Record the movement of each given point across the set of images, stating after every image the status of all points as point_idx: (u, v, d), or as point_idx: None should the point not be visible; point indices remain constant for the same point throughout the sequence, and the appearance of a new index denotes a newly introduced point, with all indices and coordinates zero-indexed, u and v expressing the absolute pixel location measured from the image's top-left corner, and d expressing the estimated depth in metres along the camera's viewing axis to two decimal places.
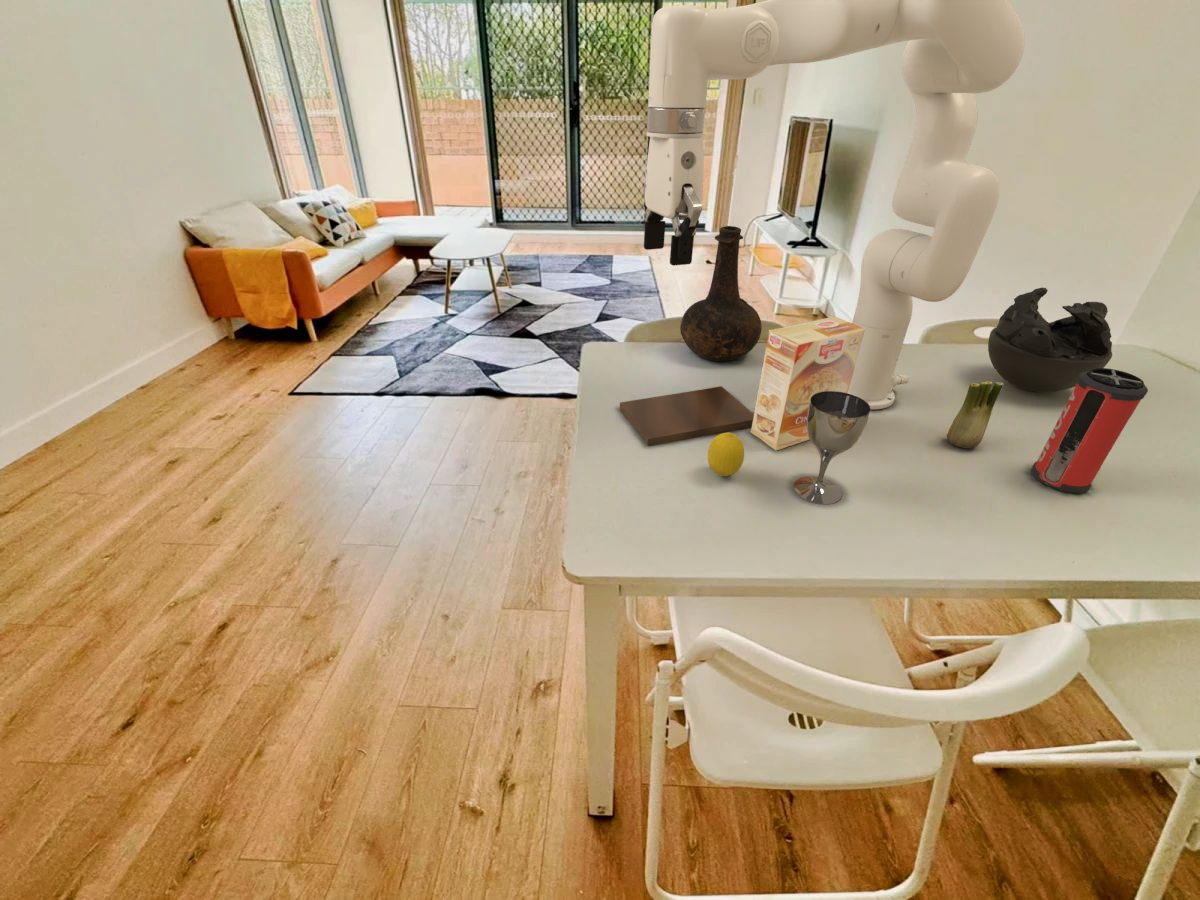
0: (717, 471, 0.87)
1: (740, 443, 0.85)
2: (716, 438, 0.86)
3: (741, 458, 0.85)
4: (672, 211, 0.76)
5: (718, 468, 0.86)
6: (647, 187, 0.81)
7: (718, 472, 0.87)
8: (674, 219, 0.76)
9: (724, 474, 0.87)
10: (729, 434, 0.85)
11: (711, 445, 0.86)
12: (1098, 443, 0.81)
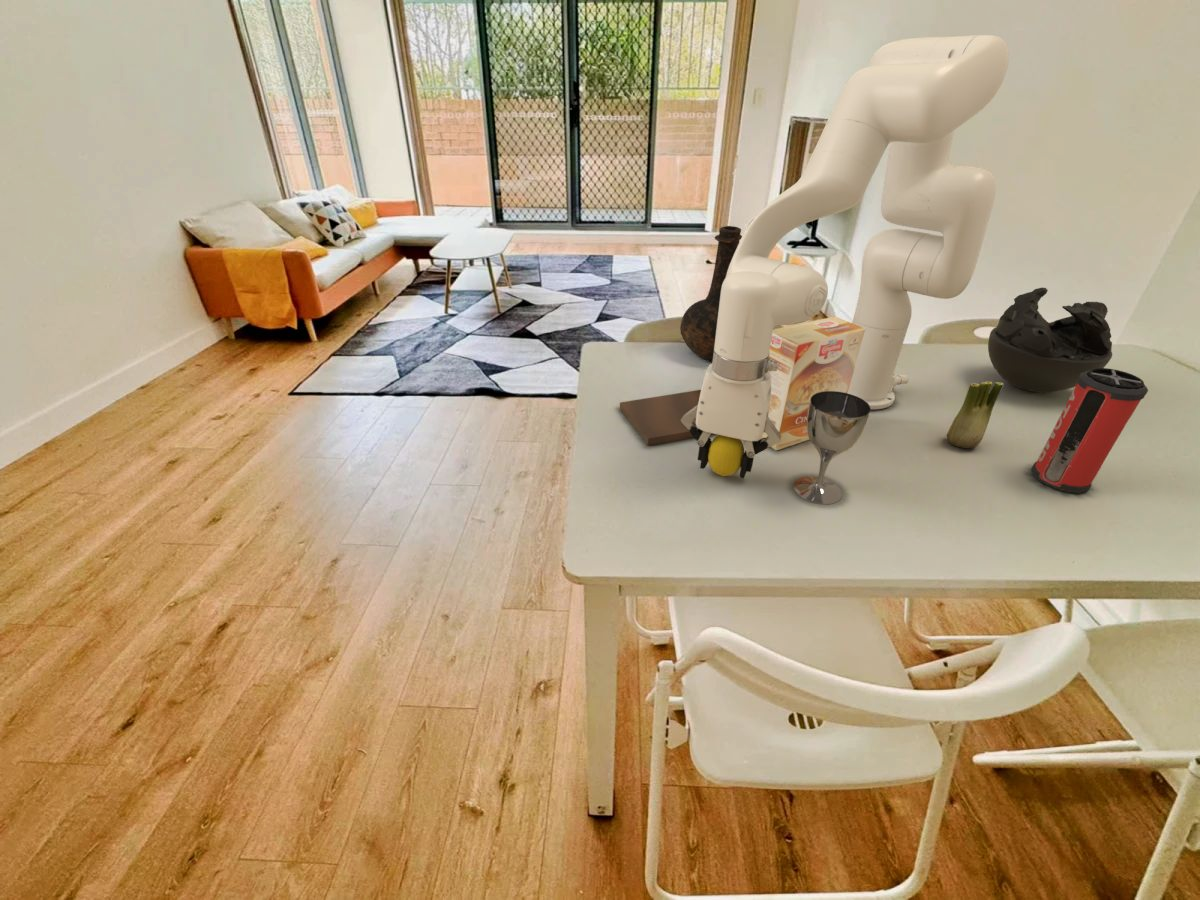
0: (717, 471, 0.87)
1: (740, 443, 0.85)
2: (716, 438, 0.86)
3: (741, 458, 0.85)
4: (759, 437, 0.81)
5: (718, 468, 0.86)
6: (706, 415, 0.83)
7: (718, 472, 0.87)
8: (750, 444, 0.83)
9: (724, 474, 0.87)
10: None
11: (711, 445, 0.86)
12: (1098, 443, 0.81)
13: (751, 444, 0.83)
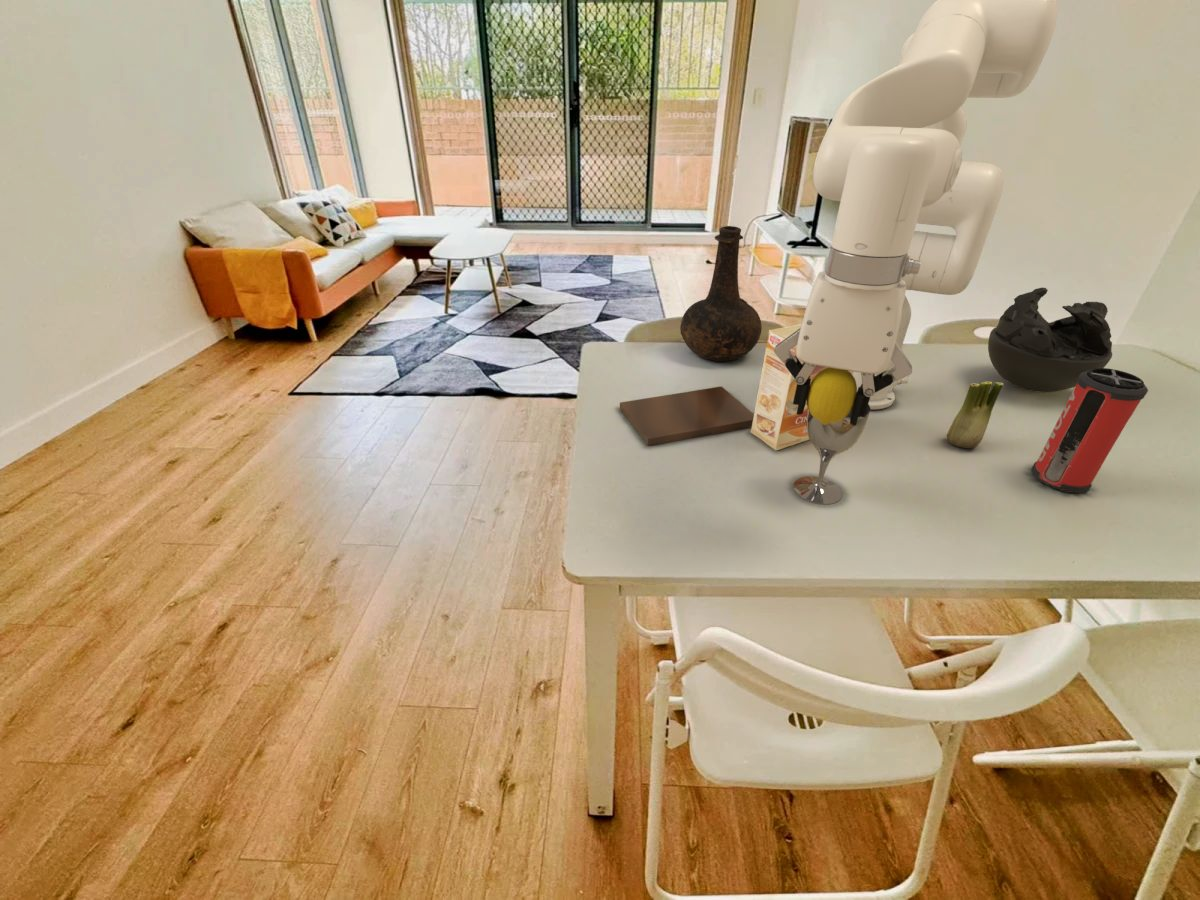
0: (821, 416, 0.67)
1: (853, 379, 0.66)
2: (821, 373, 0.67)
3: (854, 398, 0.66)
4: (885, 367, 0.62)
5: (823, 412, 0.67)
6: (813, 340, 0.63)
7: (822, 418, 0.67)
8: (869, 378, 0.64)
9: (830, 420, 0.67)
10: None
11: (814, 383, 0.67)
12: (1098, 443, 0.81)
13: (871, 378, 0.64)
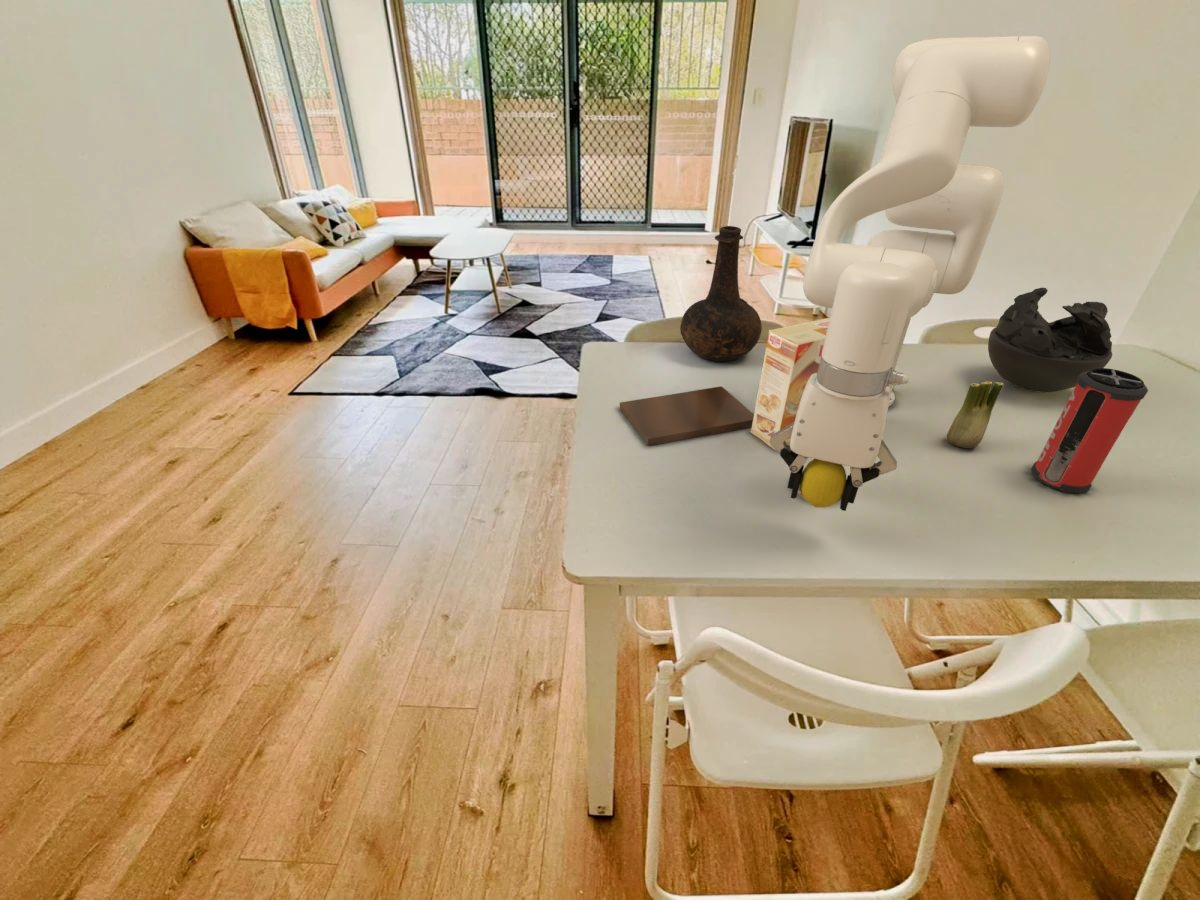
0: (813, 502, 0.72)
1: (843, 469, 0.71)
2: (813, 463, 0.72)
3: (844, 487, 0.71)
4: (872, 463, 0.67)
5: (815, 499, 0.72)
6: (805, 437, 0.69)
7: (814, 503, 0.73)
8: (858, 471, 0.69)
9: (821, 506, 0.73)
10: None
11: (806, 471, 0.72)
12: (1098, 443, 0.81)
13: (859, 471, 0.69)
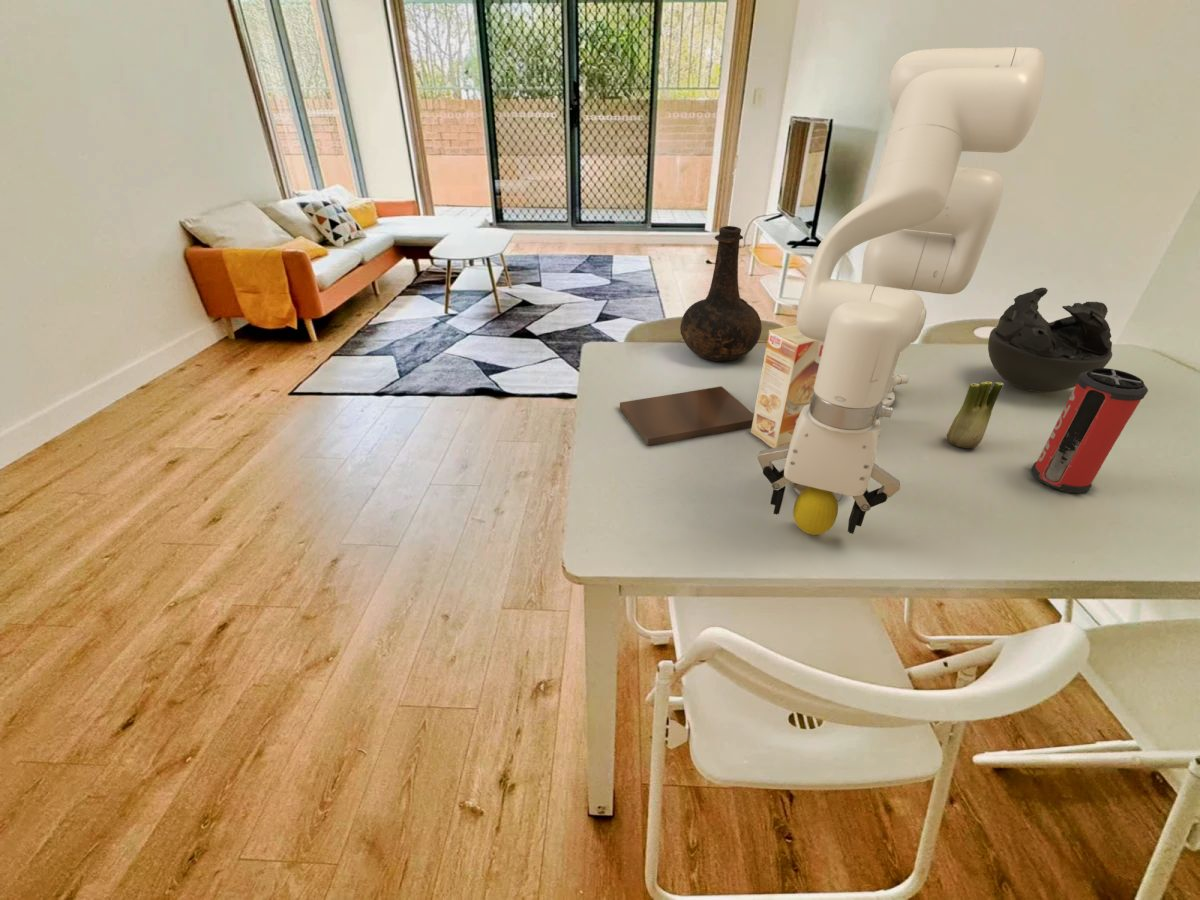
0: (806, 530, 0.75)
1: (834, 499, 0.73)
2: (806, 492, 0.74)
3: (835, 516, 0.74)
4: (863, 492, 0.70)
5: (808, 527, 0.74)
6: (799, 466, 0.71)
7: (807, 531, 0.75)
8: (860, 496, 0.71)
9: (814, 533, 0.75)
10: None
11: (799, 500, 0.75)
12: (1098, 443, 0.81)
13: (862, 496, 0.70)
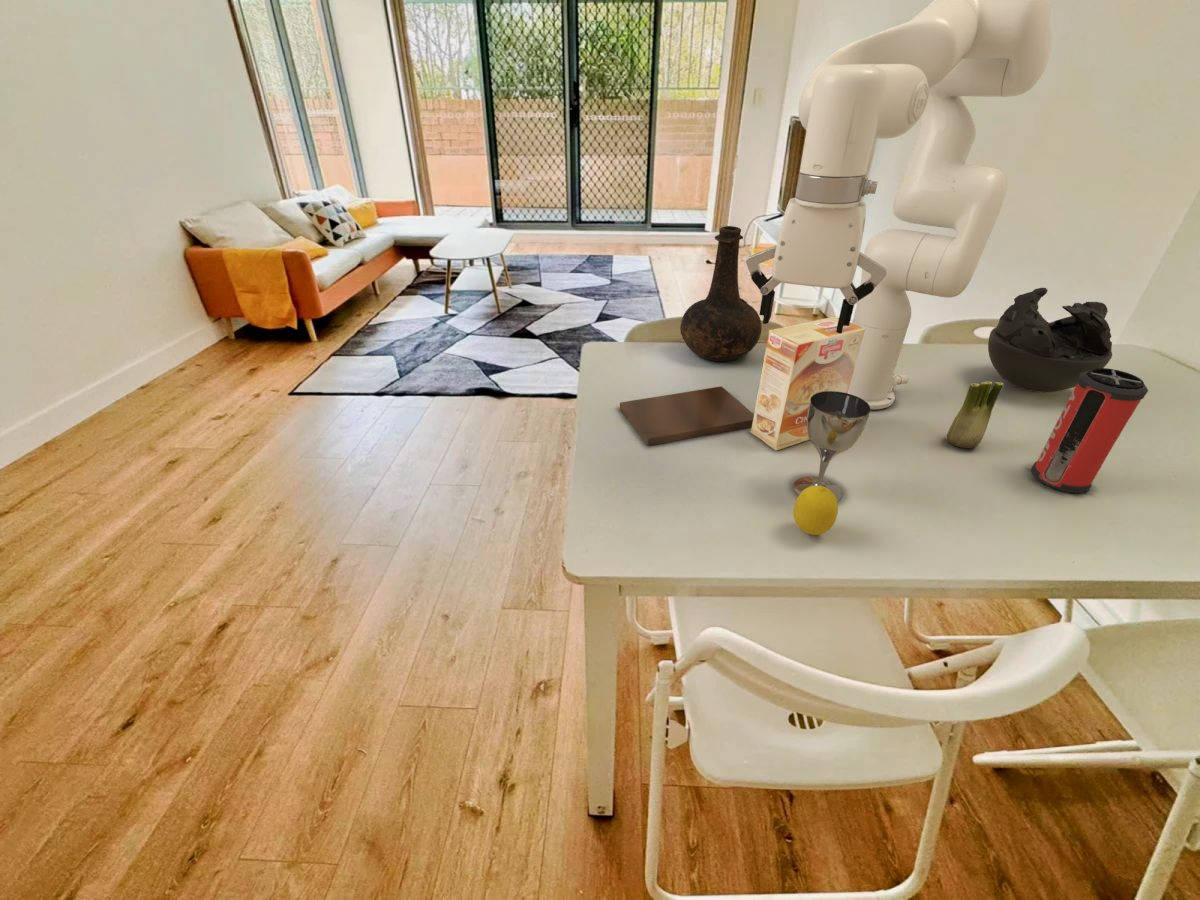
0: (806, 530, 0.75)
1: (834, 499, 0.73)
2: (806, 492, 0.74)
3: (835, 516, 0.74)
4: (850, 280, 0.70)
5: (808, 527, 0.74)
6: (786, 260, 0.71)
7: (807, 531, 0.75)
8: (848, 288, 0.71)
9: (814, 533, 0.75)
10: (822, 488, 0.73)
11: (799, 500, 0.75)
12: (1098, 443, 0.81)
13: (849, 287, 0.71)
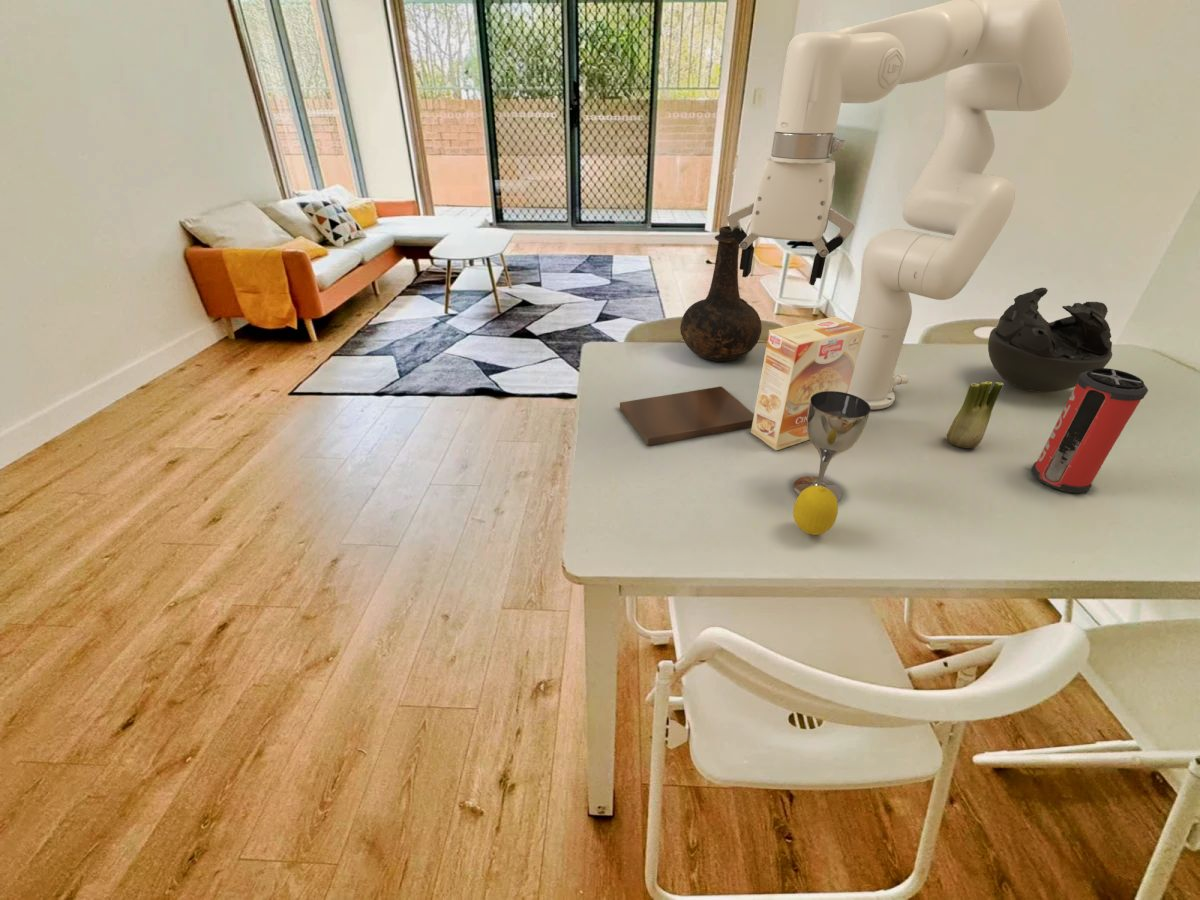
0: (806, 530, 0.75)
1: (834, 499, 0.73)
2: (806, 492, 0.74)
3: (835, 516, 0.74)
4: (821, 233, 0.76)
5: (808, 527, 0.74)
6: (763, 214, 0.78)
7: (807, 531, 0.75)
8: (819, 241, 0.77)
9: (814, 533, 0.75)
10: (822, 488, 0.73)
11: (799, 500, 0.75)
12: (1098, 443, 0.81)
13: (820, 240, 0.77)
